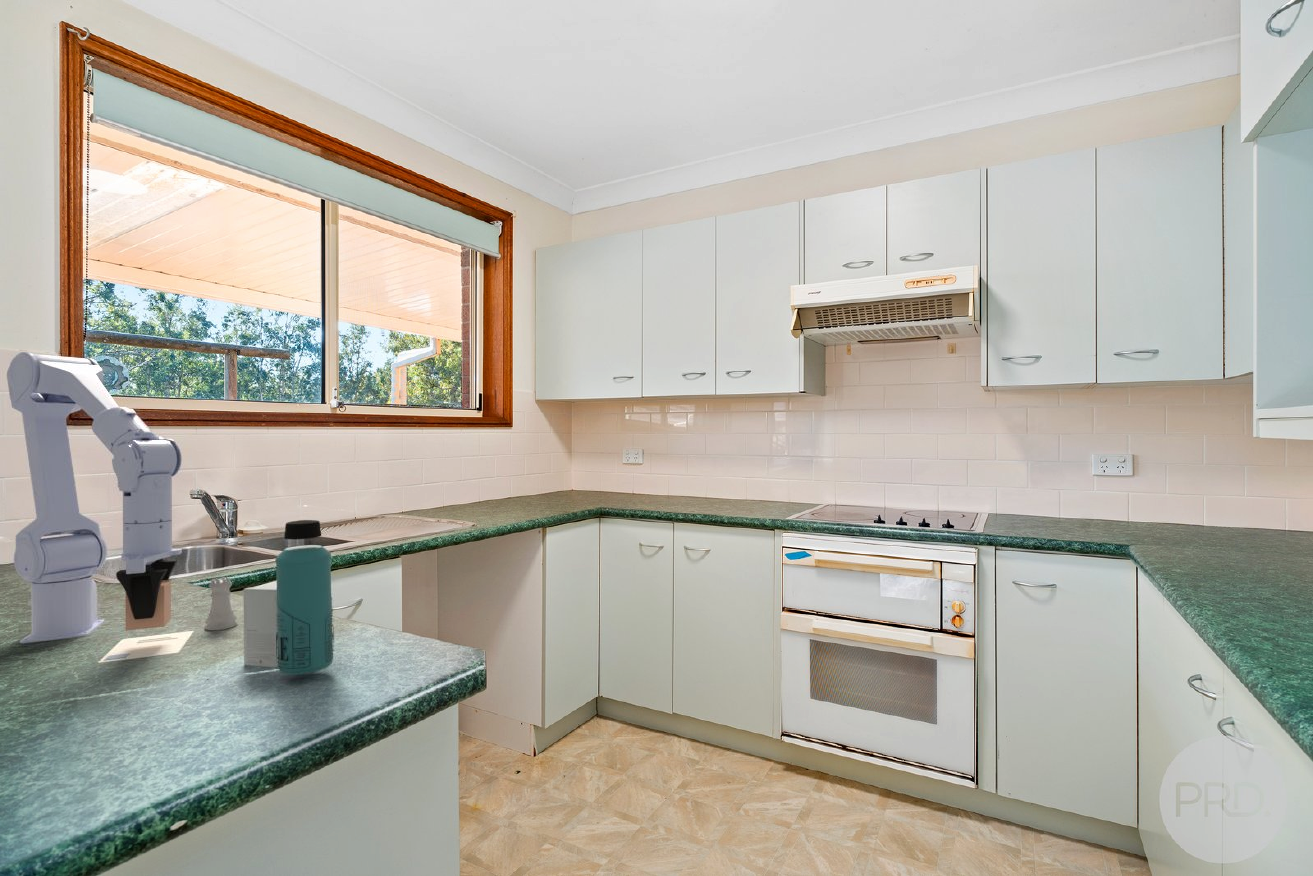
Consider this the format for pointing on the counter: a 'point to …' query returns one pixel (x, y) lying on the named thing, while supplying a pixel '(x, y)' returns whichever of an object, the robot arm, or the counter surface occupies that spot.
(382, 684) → the counter surface
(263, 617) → the small box
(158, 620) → the block
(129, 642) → the letter
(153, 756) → the counter surface
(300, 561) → the beverage bottle
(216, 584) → the rook chess piece
